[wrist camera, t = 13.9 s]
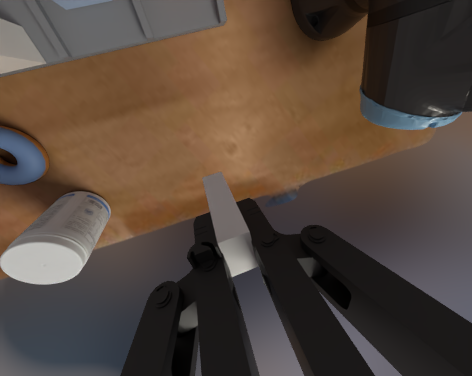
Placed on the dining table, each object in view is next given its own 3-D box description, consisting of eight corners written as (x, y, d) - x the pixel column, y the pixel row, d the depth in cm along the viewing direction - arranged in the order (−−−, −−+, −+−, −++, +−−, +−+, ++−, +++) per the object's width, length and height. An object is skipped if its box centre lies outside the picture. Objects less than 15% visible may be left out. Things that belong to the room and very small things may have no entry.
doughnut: (-50, 124, 26) (-83, 133, 23) (33, 119, 29) (15, 128, 25) (0, 179, 32) (-20, 194, 29) (66, 171, 35) (55, 184, 31)
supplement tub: (63, 225, 39) (8, 289, 26) (52, 187, 34) (-19, 243, 22) (114, 224, 42) (87, 282, 30) (110, 190, 38) (76, 240, 25)
